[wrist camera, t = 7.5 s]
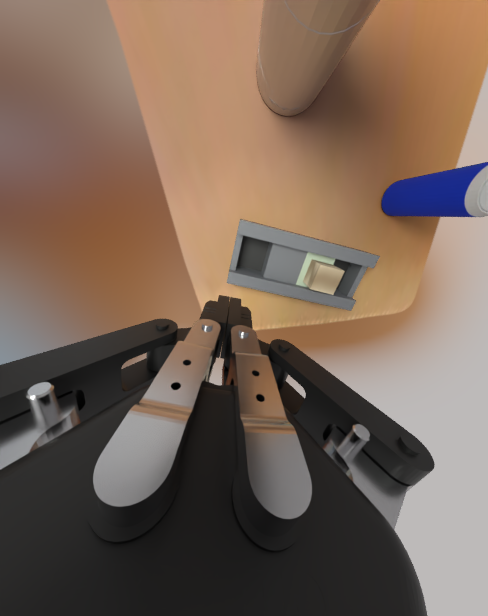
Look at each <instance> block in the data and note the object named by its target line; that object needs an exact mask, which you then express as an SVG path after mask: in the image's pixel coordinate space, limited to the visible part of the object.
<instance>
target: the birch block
mask: <svg viewBox="0 0 488 616" xmlns="http://www.w3.org/2000/svg"><path fill="white" fill-rule="evenodd" d="M344 272H345V271H343V270H342V269H340V268H338V267H336V266H334V265H332V264H328V263H324V262H321V261H317V260H313V259H312V260H311V262H310V265H309V267H308V270H307V272H306V275H305V277H304V280H303V282H304V283H305V284H306V285H307V286H308V287H309V288H310V289H311V290H315V291H319V292H324V293H328V294H332V295H333V294H334V292H335V290H336V288H337V286H338V284H339V282H340V280H341V278H342V276H343V274H344Z"/></svg>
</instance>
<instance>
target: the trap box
mask: <svg viewBox="0 0 488 616" xmlns="http://www.w3.org/2000/svg"><path fill="white" fill-rule="evenodd" d="M379 257H380V256H377V255H374V254H371V253H367V252H364V251H361V250H357V249H353V248H349V247H346V246H342V245H338V244H334V243H330V242H327V241H323V240H319V239H315V238H311V237H308V236H304V235H300V234H296V233H292V232H289V231H285V230H281V229H277V228H274V227H270V226H266V225H262V224H258V223H255V222H251V221H247V220H243V219H240V222H239V227H238V232H237V236H236V241H235V246H234V251H233V255H232V260H231V265H230V269H229V274H228V279H227V283H229V284H234V285H238V286H242V287H247V288H251V289H256V290H260V291H265V292H269V293H274V294H278V295H283V296H287V297H292V298H296V299H301V300H305V301H310V302H314V303H319V304H323V305H328V306H332V307H337V308H341V309H346V310H350V311H351V310H352V308H353V306H354V304H355V302H356V300H354V299H353V298H352V297H353V295H354V293H355V291H356V289H357V287H358V285H359V283H360V281H361V279H362V277H363V275H364V273H365V271H366V269H367V267H370V268H374V267H375V265H376V263H377V261H378V259H379ZM312 259H313V260H317V261H321V262H324V263H328V264H332V265H334V266H336V267H338V268H340V269H342V270H343V271H345V272H344V274H343V276H342V278H341V280H340V282H339V284H338V286H337V288H336V290H335V292H334V294H333V295H332V294H328V293H324V292H319V291H315V290H311V289H310V288H309V287H308V286H307V285H306V284H305V283H304V282H303V280H304V277H305V275H306V272H307V270H308V267H309V265H310V262H311V260H312Z"/></svg>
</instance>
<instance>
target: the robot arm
mask: <svg viewBox="0 0 488 616" xmlns="http://www.w3.org/2000/svg"><path fill="white" fill-rule="evenodd" d="M379 1H380V0H264V3H263V12H262V21H261V30H260V38H259V47H258V57H257V71H256V74H257V83H258V87H259V91H260V93H261V96H262V98H263V100H264V101H265V103H266V104H267V106H268V107H269V108H270V109H271V110H273V111H274V112H276V113H278V114H280V115H284V116H293V115H296V114H299V113H301V112H303V111H304V110H305V109H307V108H308V107H309V106H310V105H311V104H312V103H313V101H314V100H315V98H316V97H317V95H318V94H319V92H320V91H321V89H322V88H323V86H324V85H325V83H326V82H327V81H328V79H329V78H330V76H331V74H332V73H333V71H334V70H335V68H336V67H337V65H338V64H339V62H340V61H341V59H342V58H343V56H344V55H345V53H346V51H347V50H348V48H349V47H350V45H351V44H352V42H353V41H354V39H355V38H356V36H357V35H358V33H359V31H360V30H361V28H362V27H363V25H364V24H365V22H366V21H367V19H368V18H369V16H370V15H371V13H372V12H373V10H374V8H375V7H376V5H377V4H378V2H379ZM229 299H230V302H229ZM222 342H223V343H222ZM221 347H222V350H221ZM146 352H147V358H146V359H144V360H142V361H139V362H137V363H135V364H133V365H130V366H128V367H126V368H124V369H121V367H122V365H123V364H124V363H125V362H126V361H128V360H129V359H132V358H134V357H136V356H139V355H141V354H144V353H146ZM220 352H221V358H224V364H223V369H222V385H221V386H218V385H214V384H212V383H209V379H210V376H211V373H212V369H213V364H214V363H215V360H216V357H217V358H219V356H220ZM288 374H289V375H290V376H291V377H292V378H293V379H294V380H296V381H297V382H298V383H299V384H300V385H301V386H302V387H303V388H304V390H305V392H306V398H305V399H304V398H303V397H302V396H301V395H300V394H299V393H298V392H297V391H296V390H295V389H294V388H293V387H292V386H290V385H289V384H288V383H287V382H286V378H287V376H288ZM433 469H434V461H433V458H432V456H431V454H430V453H429V451H428V450H427V448H426V447H425V446H424V445H423V444H422V443H421V442H420V441H419V440H418V439H417V438H416V437H415V436H413V435H412V434H411V433H409V432H408V431H407V430H405V429H404V428H403V427H401V426H400V425H399V424H397V423H396V422H395V421H393V420H392V419H391V418H389V417H388V416H387V415H385V414H384V413H383V412H381V411H380V410H379V409H377V408H376V407H375V406H373V405H372V404H371V403H369V402H368V401H367V400H365V399H364V398H363V397H361V396H360V395H359V394H357V393H356V392H355V391H353V390H352V389H351V388H349V387H348V386H347V385H345V384H344V383H343V382H342V381H340V380H339V379H338V378H336V377H335V376H333V375H332V374H331V373H330V372H328V371H327V370H325V369H324V368H323V367H322V366H320V365H319V364H318V363H316V362H315V361H314V360H312V359H311V358H310V357H308V356H307V355H306V354H304V353H303V352H302V351H300V350H299V349H298V348H296V347H295V346H294V345H292V344H291V343H289V342H287V341H285V340H280V339H276V340H273V341H272V342H271V344H267V343H265V342H262V341H260V340H259V339H258V338H257V335H256V332H255V331H254V330H253V329H252V320H251V311H250V310H249V309H248V308H247V307H242V306H241V299H237V298H232V297H231V298H230V297H227V296H222V295H219V298H218V302H216V301H211V300H210V301H208V302H207V303H206V304H205V306H204V309H203V312H202V314H201V317H200V319H199V320H198V321H196V322H195V323H194V325H193V326H192V327H191V328H181V329H178V326H177V324H176V323H175V322H173V321H172V320H169V319H156V320H152V321H149V322H145V323H142V324H139V325H135V326H132V327H128V328H125V329H122V330H118V331H115V332H111V333H108V334H105V335H101V336H98V337H94V338H91V339H87V340H84V341H81V342H77V343H74V344H71V345H67V346H64V347H60V348H57V349H54V350H50V351H47V352H43V353H40V354H37V355H33V356H30V357H26V358H23V359H20V360H16V361H13V362H10V363H6V364H3V365H0V616H427V611H426V606H425V602H424V597H423V593H422V589H421V586H420V583H419V580H418V577H417V575H416V572H415V569H414V566H413V564H412V562H411V560H410V558H409V555H408V553H407V551H406V550H405V548H404V546H403V544H402V542H401V540H400V539H399V537H398V535H397V534H396V533H395V531H394V528H395V525H396V522H397V519H398V516H399V512H400V509H401V506H402V503H403V500H404V497H405V494H406V492H407V491H408V490H409V489H410V488H412V487H413V486H414V485H415V484H416V483H417V482H419V481H420V480H421V479H422V478H424V477H425V476H426V475H427V474H428V473H430V472H431V471H432V470H433Z"/></svg>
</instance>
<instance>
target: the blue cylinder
mask: <svg viewBox="0 0 488 616" xmlns="http://www.w3.org/2000/svg"><path fill="white" fill-rule="evenodd" d="M382 209H383V211H384V212H385V213H386V214H387V215H389V216H437V217H484V216H488V162H485V163H481V164H476V165H471V166H466V167H462V168H457V169H452V170H447V171H443V172H438V173H433V174H428V175H423V176H419V177H414V178H409V179H404V180H400V181H397V182H395V183H393V184H392V185H391V186H389V188H388V189H387V190H386V191H385V193H384V195H383V198H382Z"/></svg>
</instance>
